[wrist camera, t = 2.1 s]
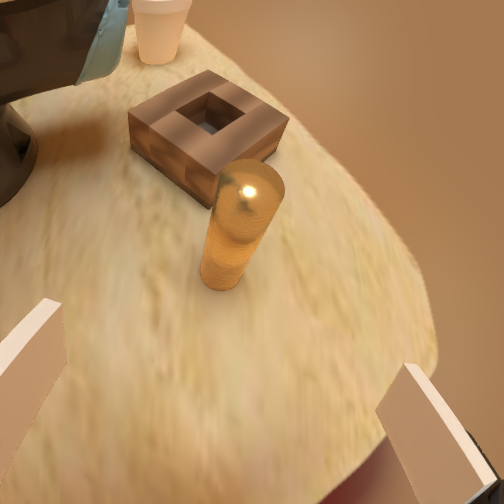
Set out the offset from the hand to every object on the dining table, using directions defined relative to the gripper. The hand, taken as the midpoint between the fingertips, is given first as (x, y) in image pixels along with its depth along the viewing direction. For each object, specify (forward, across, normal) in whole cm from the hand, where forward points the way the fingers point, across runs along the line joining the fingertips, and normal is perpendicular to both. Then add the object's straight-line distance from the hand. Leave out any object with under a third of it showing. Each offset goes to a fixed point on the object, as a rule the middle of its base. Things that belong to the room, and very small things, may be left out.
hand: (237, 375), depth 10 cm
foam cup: (+45, -19, +21) cm, 53 cm away
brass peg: (+20, 0, -4) cm, 20 cm away
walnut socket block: (+31, -5, +7) cm, 32 cm away
